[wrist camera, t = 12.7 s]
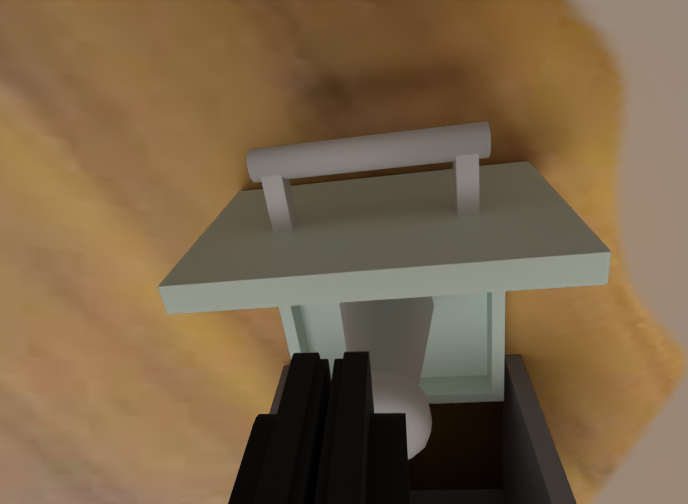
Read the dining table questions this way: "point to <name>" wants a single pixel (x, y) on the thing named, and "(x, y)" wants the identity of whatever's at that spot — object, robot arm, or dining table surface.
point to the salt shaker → (394, 357)
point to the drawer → (392, 247)
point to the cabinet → (508, 451)
